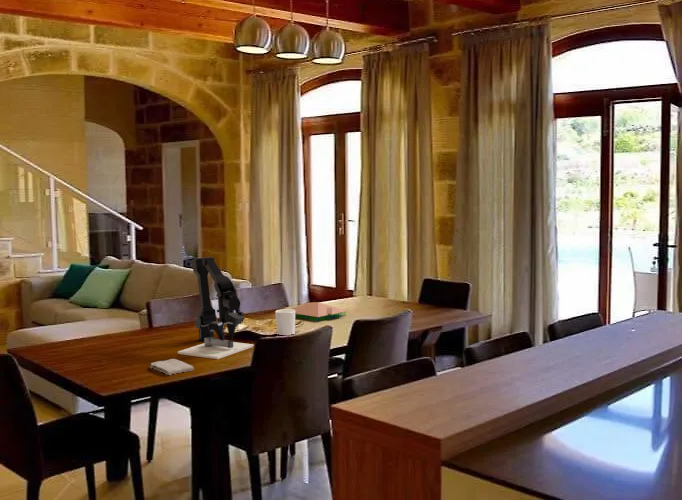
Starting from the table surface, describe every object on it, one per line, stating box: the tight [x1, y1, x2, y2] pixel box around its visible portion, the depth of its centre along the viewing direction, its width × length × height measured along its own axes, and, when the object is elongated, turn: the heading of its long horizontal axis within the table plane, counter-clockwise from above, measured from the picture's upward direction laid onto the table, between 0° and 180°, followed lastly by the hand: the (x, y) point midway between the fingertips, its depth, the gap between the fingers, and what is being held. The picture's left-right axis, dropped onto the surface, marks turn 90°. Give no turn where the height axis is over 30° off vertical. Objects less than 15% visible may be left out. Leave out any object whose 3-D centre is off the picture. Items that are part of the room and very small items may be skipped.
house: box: [290, 301, 349, 322], centre depth 400 cm, size 23×33×8 cm
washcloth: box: [149, 358, 195, 376], centre depth 297 cm, size 12×18×3 cm, turn 41°
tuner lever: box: [203, 337, 234, 348], centre depth 328 cm, size 16×4×4 cm, turn 55°
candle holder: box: [275, 308, 296, 335], centre depth 354 cm, size 10×10×12 cm
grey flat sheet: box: [177, 341, 255, 360], centre depth 327 cm, size 23×25×1 cm
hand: (227, 340), depth 331 cm, fingers open, 6 cm apart
